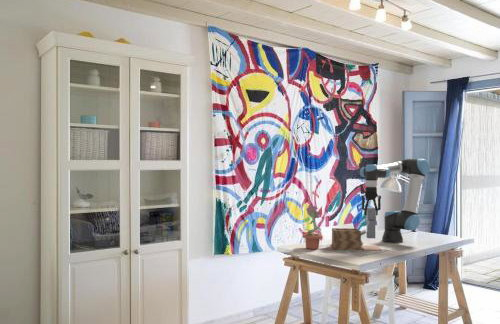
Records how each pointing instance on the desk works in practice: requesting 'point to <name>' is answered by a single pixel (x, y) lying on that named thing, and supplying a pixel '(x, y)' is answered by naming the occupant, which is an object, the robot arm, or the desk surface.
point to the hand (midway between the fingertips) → (371, 220)
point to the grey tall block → (371, 222)
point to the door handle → (362, 234)
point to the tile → (371, 248)
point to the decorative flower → (312, 238)
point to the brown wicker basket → (346, 239)
